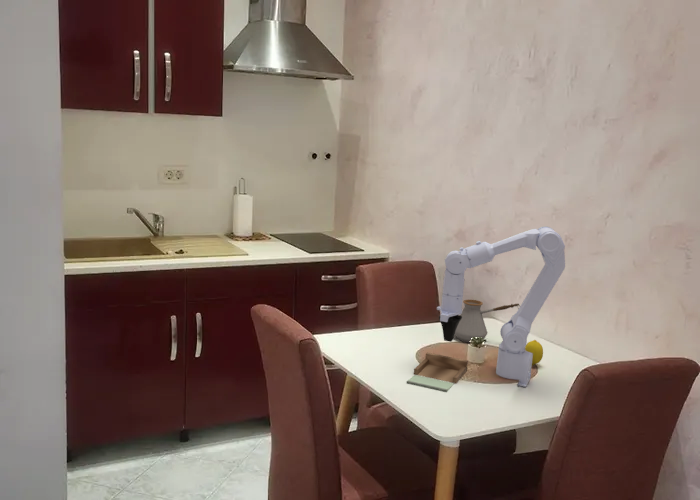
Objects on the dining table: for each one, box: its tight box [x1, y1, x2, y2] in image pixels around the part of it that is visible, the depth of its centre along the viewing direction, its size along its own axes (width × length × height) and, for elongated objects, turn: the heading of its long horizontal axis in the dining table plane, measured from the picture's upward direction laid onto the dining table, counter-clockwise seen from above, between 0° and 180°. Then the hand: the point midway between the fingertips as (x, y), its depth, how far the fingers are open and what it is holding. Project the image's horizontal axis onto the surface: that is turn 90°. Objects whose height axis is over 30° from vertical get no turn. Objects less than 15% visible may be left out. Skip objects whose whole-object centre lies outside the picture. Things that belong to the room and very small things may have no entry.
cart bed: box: [413, 352, 469, 384], centre depth 184 cm, size 12×11×4 cm
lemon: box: [525, 339, 544, 366], centre depth 198 cm, size 6×6×8 cm
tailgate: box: [406, 374, 455, 393], centre depth 175 cm, size 11×1×7 cm
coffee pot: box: [454, 299, 521, 343], centre depth 217 cm, size 21×12×15 cm, turn 62°
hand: (448, 340), depth 187 cm, fingers closed
